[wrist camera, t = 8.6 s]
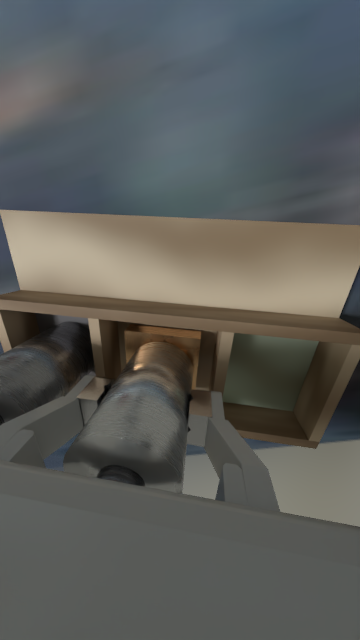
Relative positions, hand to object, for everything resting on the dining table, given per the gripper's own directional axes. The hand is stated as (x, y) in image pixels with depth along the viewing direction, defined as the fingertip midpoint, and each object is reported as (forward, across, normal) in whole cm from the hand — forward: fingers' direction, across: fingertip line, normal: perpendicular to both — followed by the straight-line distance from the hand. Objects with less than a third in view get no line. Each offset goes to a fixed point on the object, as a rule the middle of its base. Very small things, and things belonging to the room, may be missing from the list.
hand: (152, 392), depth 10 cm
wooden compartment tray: (+5, 0, -2) cm, 5 cm away
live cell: (+2, 0, 0) cm, 2 cm away
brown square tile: (+3, 0, 0) cm, 3 cm away
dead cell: (+3, +7, 0) cm, 7 cm away
